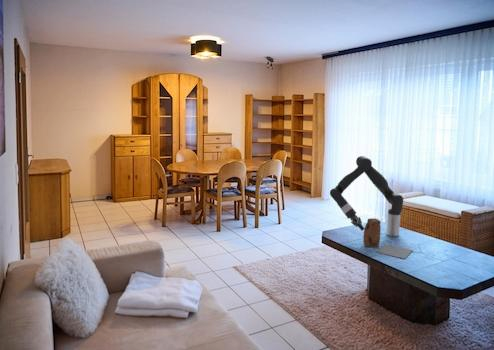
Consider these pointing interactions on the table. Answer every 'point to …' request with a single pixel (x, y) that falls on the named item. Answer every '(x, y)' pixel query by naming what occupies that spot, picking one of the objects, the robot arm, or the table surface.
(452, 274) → the table surface
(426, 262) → the table surface
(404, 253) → the mat
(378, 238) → the rough sandstone rock
